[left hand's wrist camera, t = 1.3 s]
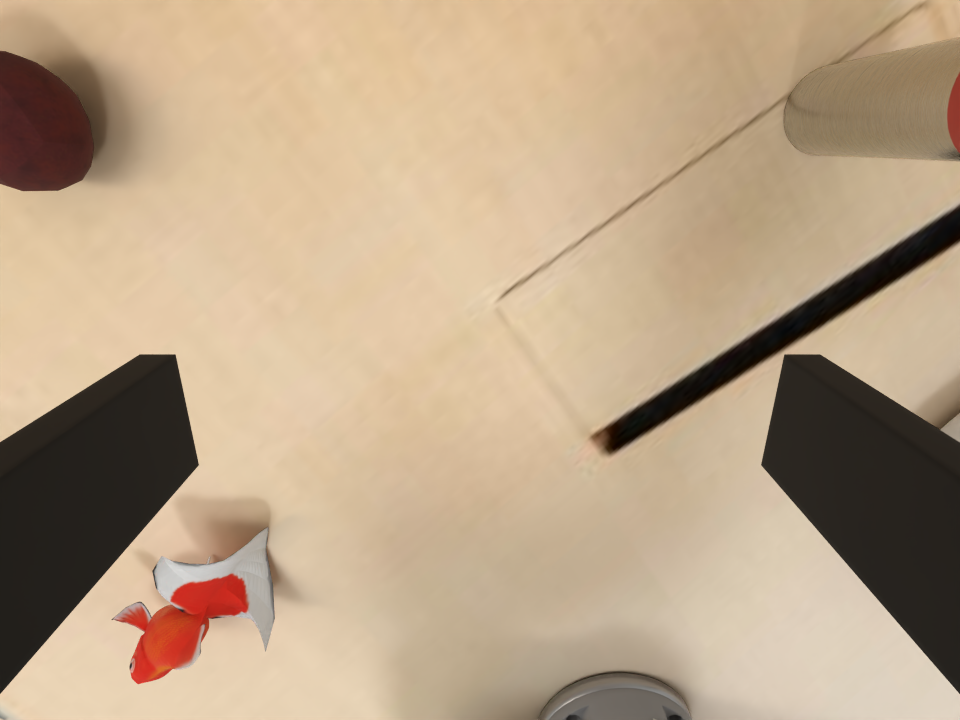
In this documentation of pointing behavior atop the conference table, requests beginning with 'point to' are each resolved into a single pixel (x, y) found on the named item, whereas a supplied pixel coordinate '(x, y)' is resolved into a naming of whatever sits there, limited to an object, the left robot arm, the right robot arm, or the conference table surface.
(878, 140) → the jar
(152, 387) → the left robot arm
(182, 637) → the fish
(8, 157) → the dark red ball
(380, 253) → the conference table surface
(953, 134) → the lid
